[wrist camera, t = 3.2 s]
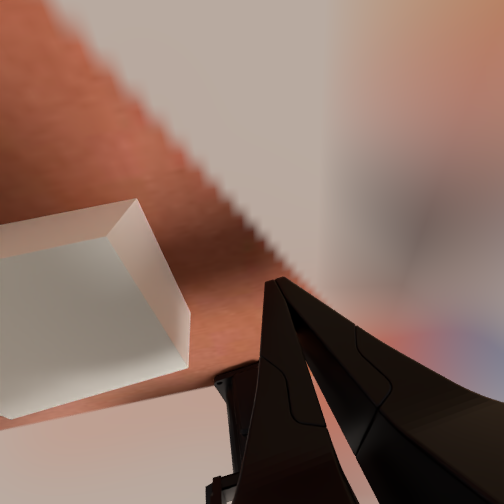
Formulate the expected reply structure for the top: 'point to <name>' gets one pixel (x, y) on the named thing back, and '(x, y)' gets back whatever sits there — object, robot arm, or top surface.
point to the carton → (85, 307)
